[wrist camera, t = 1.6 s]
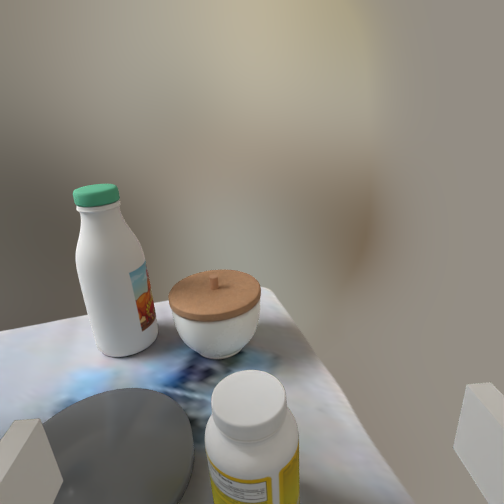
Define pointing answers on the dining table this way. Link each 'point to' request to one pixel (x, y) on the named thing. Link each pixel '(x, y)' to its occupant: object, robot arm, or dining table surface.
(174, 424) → the slate plate
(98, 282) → the milk bottle
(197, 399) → the dining table surface
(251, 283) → the lidded jar
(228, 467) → the pill bottle
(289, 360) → the dining table surface
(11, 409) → the dining table surface
